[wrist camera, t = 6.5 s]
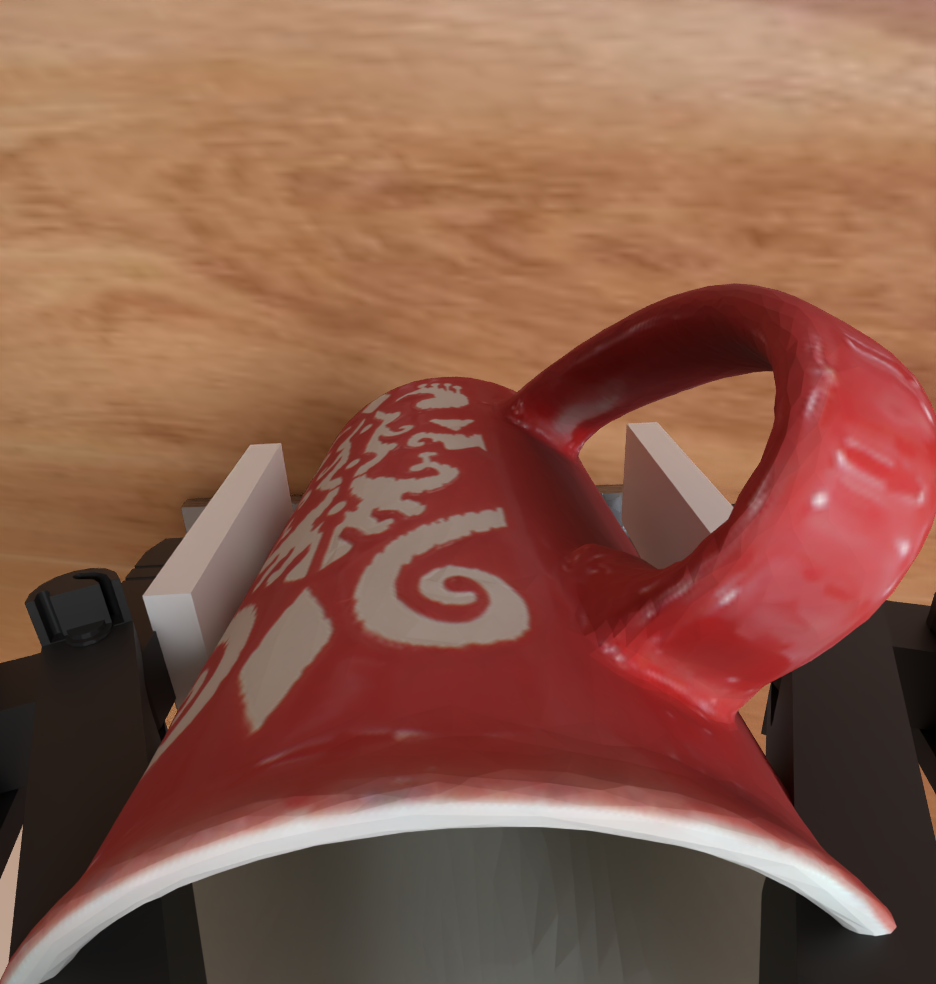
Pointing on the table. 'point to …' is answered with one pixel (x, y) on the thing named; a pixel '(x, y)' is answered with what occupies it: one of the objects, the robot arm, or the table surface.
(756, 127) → the table surface
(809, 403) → the mug
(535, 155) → the table surface
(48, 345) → the table surface
